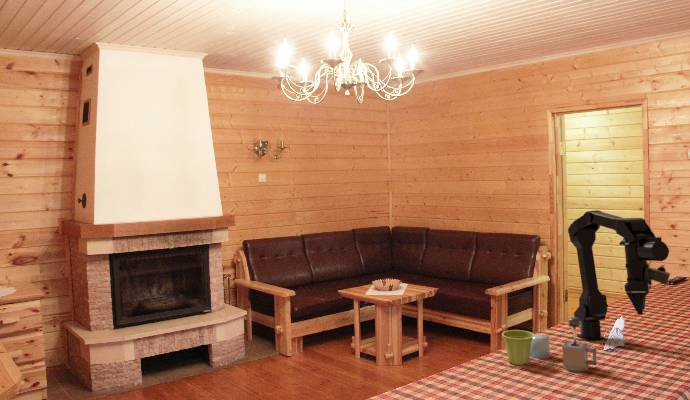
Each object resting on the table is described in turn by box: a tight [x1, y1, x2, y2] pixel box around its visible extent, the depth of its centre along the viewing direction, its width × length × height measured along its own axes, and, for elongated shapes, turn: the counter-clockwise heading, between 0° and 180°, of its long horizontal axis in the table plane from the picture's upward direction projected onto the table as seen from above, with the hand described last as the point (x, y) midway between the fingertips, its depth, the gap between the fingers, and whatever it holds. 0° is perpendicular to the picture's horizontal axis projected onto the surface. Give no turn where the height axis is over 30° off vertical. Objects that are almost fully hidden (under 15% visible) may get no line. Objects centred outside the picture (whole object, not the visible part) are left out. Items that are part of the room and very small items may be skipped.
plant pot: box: [501, 329, 534, 366], centre depth 180 cm, size 9×9×9 cm
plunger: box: [568, 316, 580, 346], centre depth 172 cm, size 3×3×9 cm
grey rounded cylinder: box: [530, 333, 551, 360], centre depth 185 cm, size 6×6×6 cm
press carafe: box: [561, 340, 598, 373], centre depth 171 cm, size 7×9×7 cm
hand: (641, 312), depth 176 cm, fingers open, 9 cm apart
